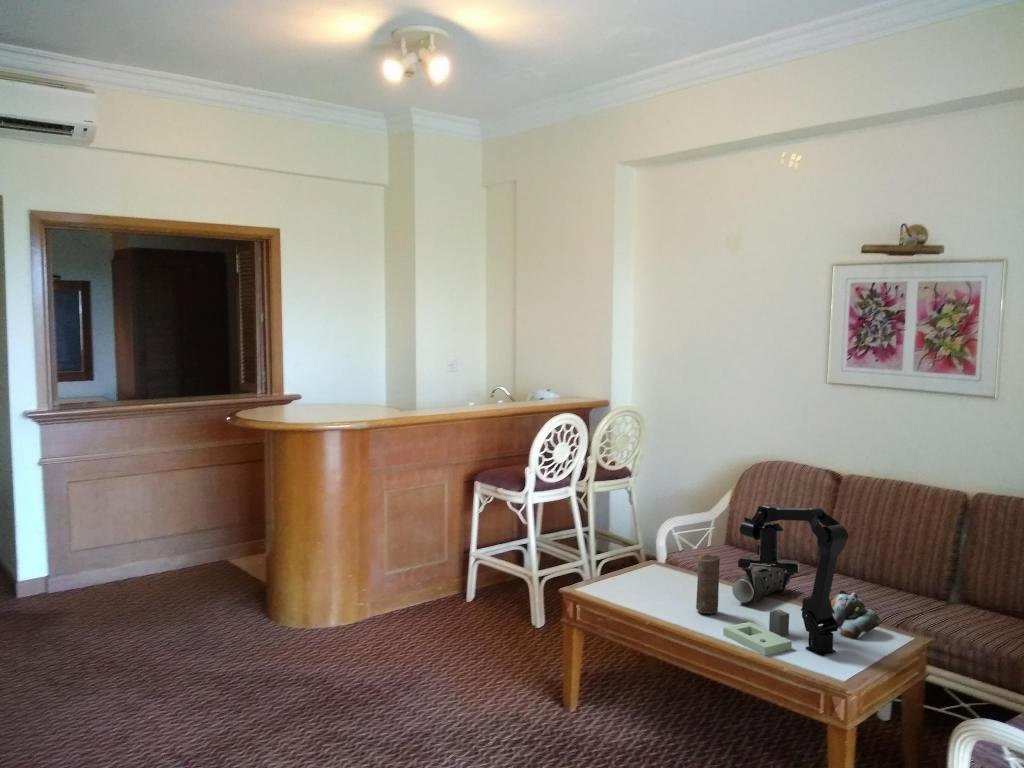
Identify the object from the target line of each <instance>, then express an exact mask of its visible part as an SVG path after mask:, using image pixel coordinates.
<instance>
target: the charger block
mask: <svg viewBox="0 0 1024 768" xmlns="http://www.w3.org/2000/svg"><path fill="white" fill-rule="evenodd" d="M768 625H769V628H768V631H770V632H773V633H775V634H777V635H779V636H782V637H786V636H789V634H790V633H789V631H790V629H789V628H790V613H788V612H787V611H783V610H782V609H776V610H771V611H769V623H768Z"/></svg>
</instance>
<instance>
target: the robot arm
mask: <svg viewBox="0 0 1024 768" xmlns="http://www.w3.org/2000/svg"><path fill="white" fill-rule="evenodd" d="M780 521H781V522H782V521H797V522H799V521H801V522H808V523H809V526H810V529H811V532H812V533H813V534H814V535H815V536H816V538H817V539H816V541H817V543H816V544H817V547H818V550H819V557H818V562H817V566H816V567H817V568H816V573H815V576H814V577H815V578H814V581H813V582H814V583H813V588H812V593H811V595H810V596H809V597H804V598H803V599H802V606H801V609H800V611H801V618H802V619H803V624H804V628H805V631H806V632H807V633H808V643H807V644H808V645H807V646H805V650H807V651H809V652H812V653H814V654H817V655H819V656H821V657H824V656H829V655H832V654H837V650H835V649H834V633H833V632H837V631H838V630H839V628H838V627H839V625H838V623H837V622H836V620H835V618H834V617H833V615H832V606H831V603H830V601H829V599H830V595H831V591H832V586H833V580H834V576H835V570H836V566H837V561H838V558H839V555H840V554H841V553H842V551H843V550H844V549H845V547H846V545H847V541H848V539H849V532H848V531H847V529H846V528H845V527H844V526H843V525H842V524H841V523H840V522H839V521H838V520H837V519H836V518H833V517H832V516H830V515H829V514H827V513H826V511H825V510H824V509H822V508H821V507H809V508H808V507H786V506H783V505H781V504H777V503H772V504H763V505H759V506H758V507H757V509H756V512H755V513H754V514H753V517H752V516H746V517H744V519H743V521H742V522H741V524H740V527H739V533H740V535H741V536H742V537H744V538H748V539H752V540H756V541H759V544H758V545H757V547H756V548H757V549H756V555H758V556H759V557H758V558H759V559H753V556H751V555H750V556H749V555H741V556H740V557H739V558H738V561H737V568H741V570H742V571H745V574H747V575H748V577H749V580H750V582H751V585H752V587H753V589H754V588H755V581H754V572H755V571H754V570H755V569H754V566H755V567H763V568H764V567H774V568H784V569H785V572H784V578H783V586H782V588H781V589H782V590H781V591H782V593H784V592H785V589H786V587H787V585H788V584H787V581H788V579H789V577H790V575H791V576H794V575H795V574H798V573H799V572H800V571H799V570H800V562H799V561H798V560H791V559H786V560H785V562H783V561H780V550H779V532H784V528H783V527H782V526H781V525H780V523H774V522H780ZM771 523H773V524H771ZM822 525H823V526H822ZM771 564H775V565H771ZM786 584H787V585H786Z"/></svg>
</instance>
